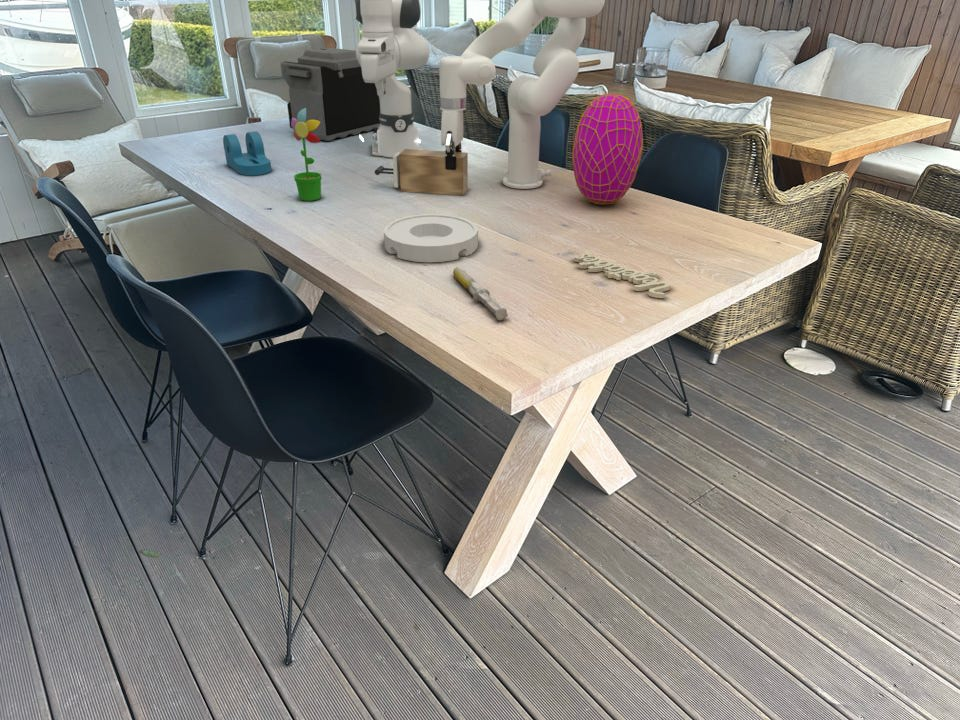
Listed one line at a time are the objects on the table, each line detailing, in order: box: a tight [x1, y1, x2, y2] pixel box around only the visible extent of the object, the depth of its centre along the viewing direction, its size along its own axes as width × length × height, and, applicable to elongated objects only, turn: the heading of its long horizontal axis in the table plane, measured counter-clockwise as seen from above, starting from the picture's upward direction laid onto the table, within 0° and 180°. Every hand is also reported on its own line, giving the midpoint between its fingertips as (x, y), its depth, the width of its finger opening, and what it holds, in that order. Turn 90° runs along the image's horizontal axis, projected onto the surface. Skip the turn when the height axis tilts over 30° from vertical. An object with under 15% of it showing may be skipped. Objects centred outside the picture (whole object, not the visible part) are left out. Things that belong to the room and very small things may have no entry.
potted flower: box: [291, 108, 323, 202], centre depth 196 cm, size 9×8×25 cm
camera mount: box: [222, 131, 272, 176], centre depth 226 cm, size 18×10×10 cm, turn 35°
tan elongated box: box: [399, 149, 469, 196], centre depth 208 cm, size 20×6×11 cm, turn 79°
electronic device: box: [279, 47, 380, 142], centre depth 271 cm, size 37×22×30 cm, turn 144°
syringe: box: [452, 266, 509, 321], centre depth 145 cm, size 25×4×3 cm, turn 21°
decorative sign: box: [574, 252, 671, 299], centre depth 155 cm, size 26×1×10 cm
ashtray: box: [383, 213, 479, 263], centre depth 170 cm, size 23×23×4 cm
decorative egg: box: [571, 92, 644, 205], centre depth 194 cm, size 19×19×30 cm
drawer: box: [374, 152, 401, 188], centre depth 209 cm, size 25×5×9 cm, turn 79°
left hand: (381, 95), depth 199 cm, fingers closed
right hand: (453, 165), depth 206 cm, fingers closed on tan elongated box, 6 cm apart
